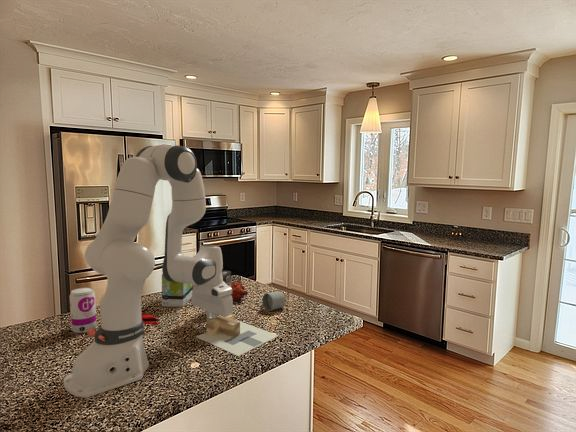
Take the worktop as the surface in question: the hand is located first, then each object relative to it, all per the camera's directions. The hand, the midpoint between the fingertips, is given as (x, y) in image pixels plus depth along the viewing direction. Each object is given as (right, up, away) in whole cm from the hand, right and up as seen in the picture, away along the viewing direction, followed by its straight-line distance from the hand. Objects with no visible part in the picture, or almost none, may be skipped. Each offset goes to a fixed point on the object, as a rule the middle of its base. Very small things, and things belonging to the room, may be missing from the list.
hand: (211, 321), depth 143 cm
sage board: (+11, -3, -9) cm, 14 cm away
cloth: (-32, -2, +10) cm, 33 cm away
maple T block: (+7, -2, -5) cm, 9 cm away
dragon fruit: (+5, +1, +33) cm, 34 cm away
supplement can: (-47, -2, -3) cm, 47 cm away
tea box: (-21, +1, +29) cm, 36 cm away
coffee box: (0, 0, +19) cm, 19 cm away
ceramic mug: (+22, 0, +21) cm, 31 cm away
